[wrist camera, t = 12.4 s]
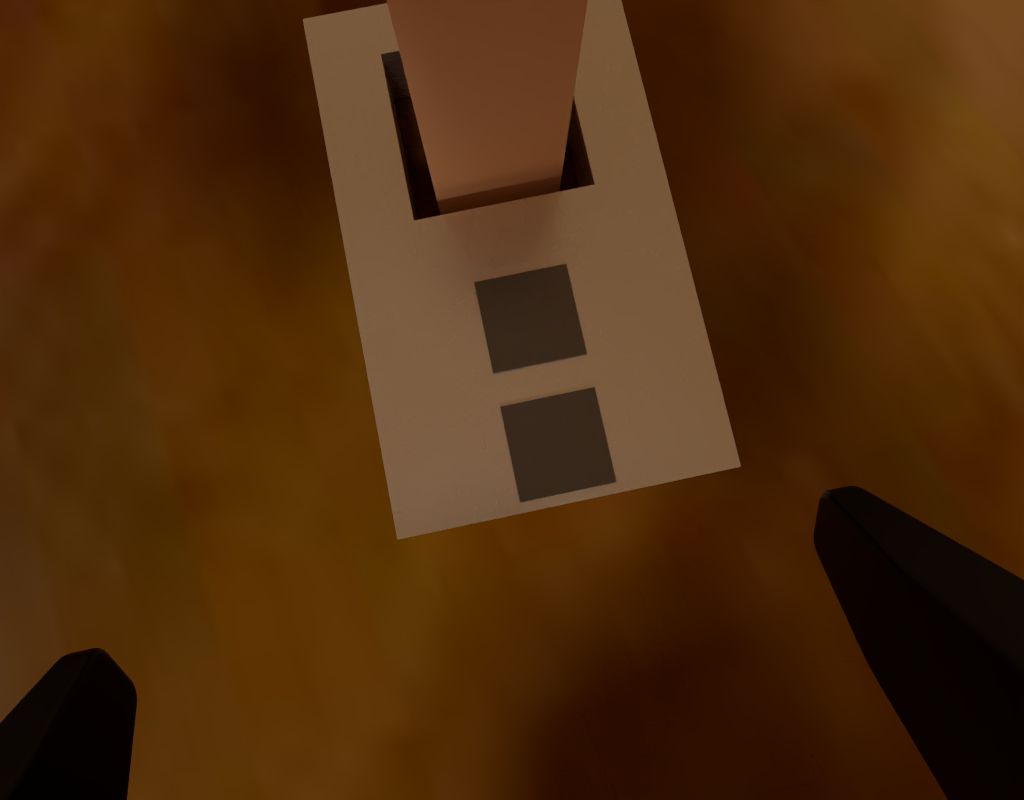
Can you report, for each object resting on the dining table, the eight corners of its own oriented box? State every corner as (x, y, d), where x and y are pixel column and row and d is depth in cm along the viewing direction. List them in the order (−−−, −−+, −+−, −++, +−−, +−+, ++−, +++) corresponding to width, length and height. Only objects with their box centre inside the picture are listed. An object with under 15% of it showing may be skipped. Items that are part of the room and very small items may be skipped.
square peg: (559, 202, 24) (625, -219, 10) (441, 225, 24) (340, -167, 10) (534, 93, 24) (562, -448, 10) (419, 115, 24) (293, -402, 10)
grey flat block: (715, 470, 22) (742, 466, 20) (410, 535, 22) (396, 539, 20) (601, 14, 25) (611, -42, 22) (324, 68, 24) (301, 17, 22)
